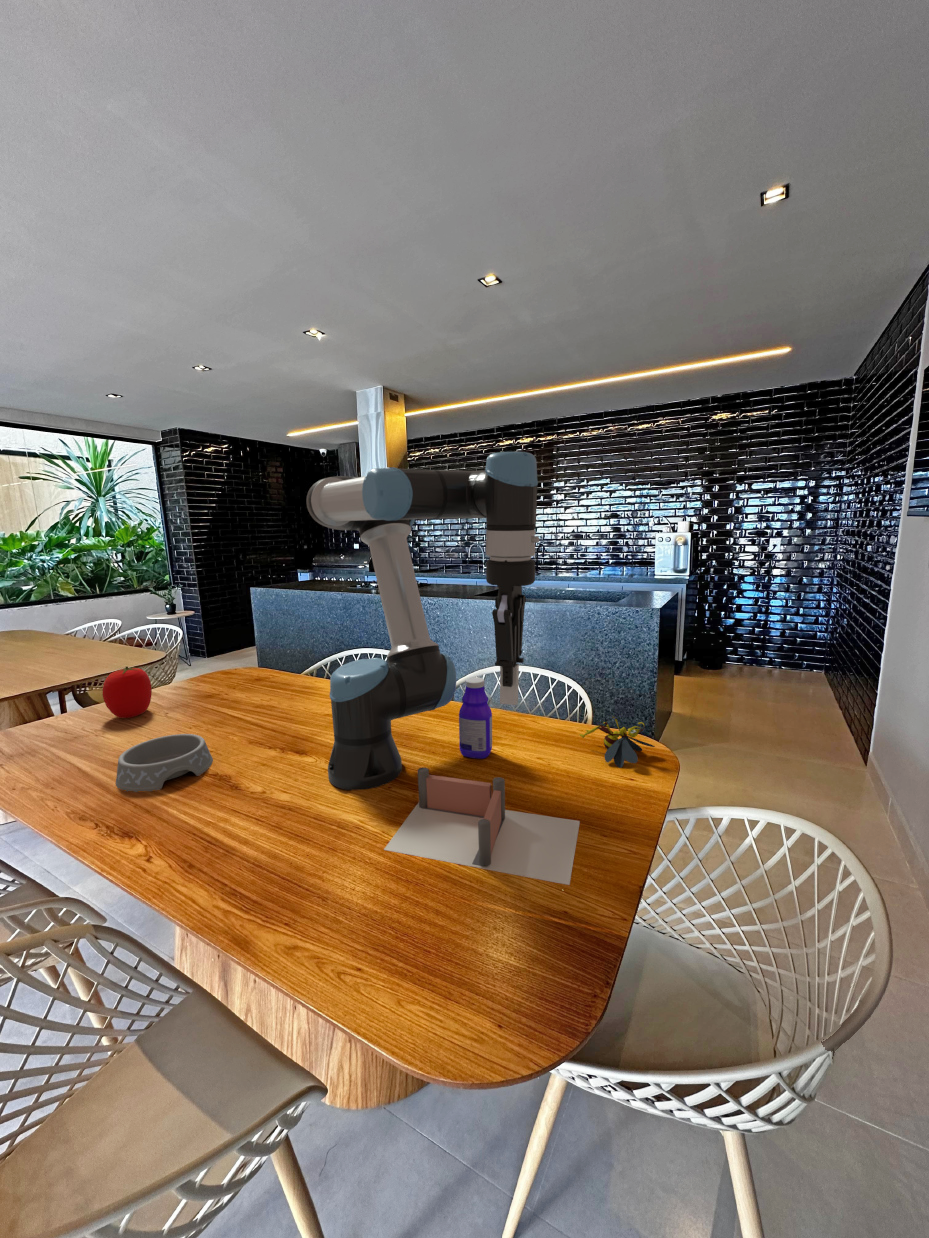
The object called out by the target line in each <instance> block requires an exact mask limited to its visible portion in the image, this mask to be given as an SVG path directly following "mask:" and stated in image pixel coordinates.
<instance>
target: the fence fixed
mask: <svg viewBox="0 0 929 1238" xmlns="http://www.w3.org/2000/svg"><path fill="white" fill-rule="evenodd" d="M505 782H506V780H505V778H504V777H499V776H497V777H494V778H493V779H492V783H491V782H487V781H486V782H484V781H478V780H471V779H462V778H456V777H449V776H448V777H447V776H442V775H434V774H430V772H429V768H428V767H425V766H424V767H419V768H418V769H417V789H418V803H419V807H420V808H433V809H440V810H446V811H452V812H459V813H465V814H471V815H478V816H484V817H485V814H486V811H487V808H488V805H489V802H490V800H491V797H492V794H493V791H494V790H497V791H501V820H503V819H504V818H505V810H506V786H505V785H506V783H505Z"/></svg>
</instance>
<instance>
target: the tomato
mask: <svg viewBox="0 0 929 1238" xmlns="http://www.w3.org/2000/svg"><path fill="white" fill-rule="evenodd" d="M102 685H103V686H102V699H103V702H104V705H105V706H106V708H107V709H108V710H109V712H110V713H111V714H113V715H114V716H115V717H117V718H119V719H130V718H131V719H132V718H135V717H137V716H140V715H142V714H144V713H145V712H147V710H148V709H149V707H150V704H151V701H152V695H153V694H152V693H153V692H152V683H151V680H150V677H149V675H148V673H147V672H146V671H145V670H143V669H142V668H139V667H136V666H134V667H133V666H132V667H129V666H128V665H127V666H125V667H124V668H122V669H118V670H116V671H113V672H111V673H109V675H108V676H107V677H106V678H105V680H104V682H103V684H102Z"/></svg>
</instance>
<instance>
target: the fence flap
mask: <svg viewBox="0 0 929 1238" xmlns="http://www.w3.org/2000/svg"><path fill="white" fill-rule="evenodd" d="M500 824H501V791H497V790H494V791H493V790H492V797H491V800H490V802H489V805H488V808H487V811H486V814H485V817H484V819H481V820H479V821H478V839H479V864H480V865H481V866H489V865H490V864H491V854H492V851H493V847H494V844H495V841H496V837H497V834H498V830H499V827H500Z"/></svg>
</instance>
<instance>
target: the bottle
mask: <svg viewBox="0 0 929 1238" xmlns="http://www.w3.org/2000/svg"><path fill="white" fill-rule="evenodd" d="M461 700H462V703H461V704H462V705H461V707H460V709H459V712H458V724H459V725H458V726H459V728H458V729H459V730H458V735H459V740H458V741H459V744H458V745H459V751H460V754H461V755H462V756H463V757H466V758H470V759H481V760H482V759H486V758H488V757H489V755H490V754H491V752H492V749H493V713H492V709H491V706H489V704H488V703H489V697H488V695H487V693H486V689H485V679H484V677H483V678H482V677H477V676H476V677H474V676H471V677H467V678H466V679H465V691H464V693H463V696H462V697H461Z"/></svg>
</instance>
